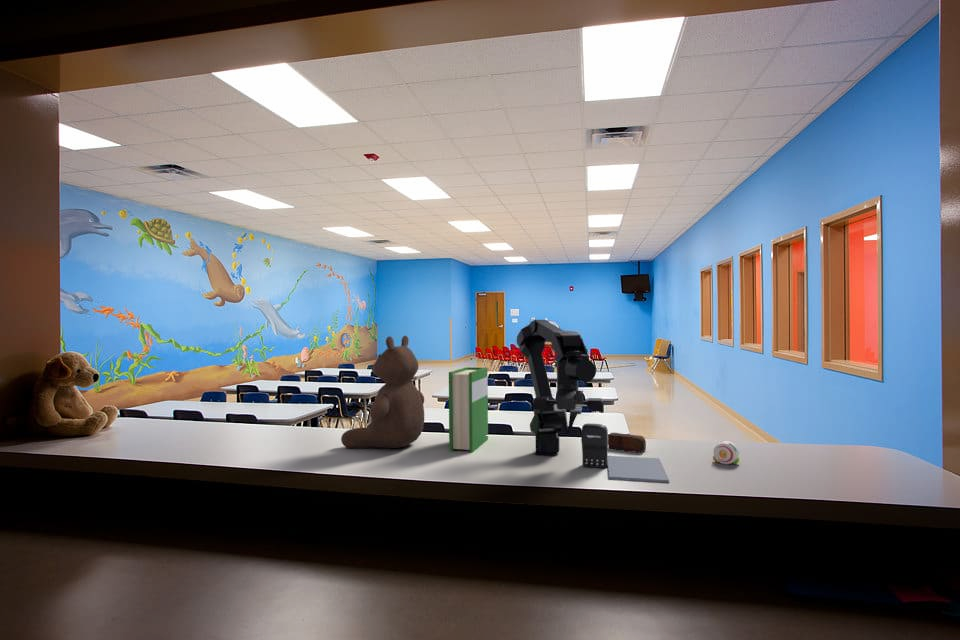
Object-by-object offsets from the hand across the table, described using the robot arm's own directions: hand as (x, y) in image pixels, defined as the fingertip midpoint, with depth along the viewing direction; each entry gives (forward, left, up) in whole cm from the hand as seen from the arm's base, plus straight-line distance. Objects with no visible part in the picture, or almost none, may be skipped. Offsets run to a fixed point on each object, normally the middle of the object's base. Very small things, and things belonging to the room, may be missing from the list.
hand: (568, 435), depth 135 cm
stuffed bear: (-58, +11, -8) cm, 60 cm away
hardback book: (-32, +17, -8) cm, 37 cm away
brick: (+16, +20, -8) cm, 28 cm away
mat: (+17, 0, -8) cm, 19 cm away
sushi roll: (+42, +11, -8) cm, 44 cm away
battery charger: (+7, 0, -8) cm, 11 cm away
